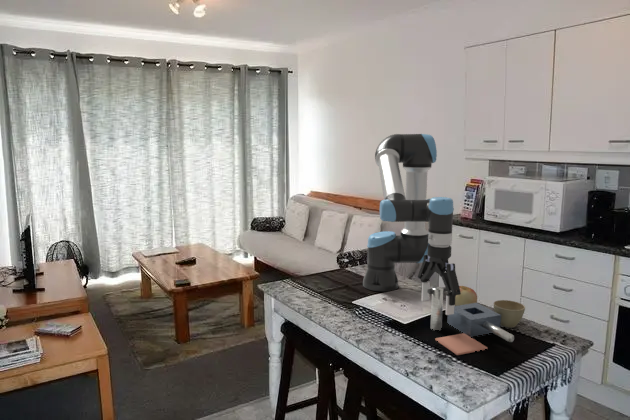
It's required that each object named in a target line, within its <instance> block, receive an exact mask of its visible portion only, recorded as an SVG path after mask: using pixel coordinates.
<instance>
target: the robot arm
mask: <svg viewBox="0 0 630 420" xmlns="http://www.w3.org/2000/svg"><path fill="white" fill-rule="evenodd" d="M437 153H438V151H437V144H436V141H435V138H434V137H433V135H432V134H428V133H427V134H426V133H406V134H405V133H395V134H391V135H388V136H386V137H385V138H384V139H382V140H381V142H379V144H378V146H377V147H376V149H375V152H374V160H375V164H376V166H377V167H378V170H379V175H380V181H381V188H382V196H383V199H382V200H381V201H379V218H380V221H382V222H391V223H395V222H396V223H397V222H400V223H401V222H403V223H404V224H403V225H404V227H403V228H401V230H400V235H397V234H396V232H395V231H391V230H390V231H388V230H386V231H385V230H384V231H379V232H374V233H371V234H370V235H369V236H368V238H367V245H366V246H367V266H366V267H367V268H366V270H365V274H364V276H363V280H362V287H363V288H365V289H367V290H369V291H374V292H391V290H392V291H395V290H397V289H398V288H399V279H398V277H397V273H396V269H395V266H396V265H395V264H396V263H397V264H398V263H399V264H421V266H420V269H419V272H418V275H417V279H420V282H421V297H420V298H421V302H427V301H430V294H429V293H428V289H431V282H430V280H431V278H432V276H433V275H434V273H437V274H438V276H439V277H441V280H442V282H443V284H444V287H446V290H447V292H446V293H447V294H446V295H445V313H444V314H445V315H446V316H448V315H451V314H454V306H455V297H456V295H460V294H461V292H460V288H459V286H460V285H459V281H458V276H457V273H456V272H457V271H456V263H449V259H450V258H451V257H452V244H453V222H454V221H453V220H454V210H455V209H454V200H453V198H451V197H446V196H445V197H444V196H434V197H431V198H427V190H428V188H427V187H428V172H429V170H431V168H432V166H433V164H435V163H436V162H437V157H438V154H437ZM399 163H400V164H402V168H403V170H405V172H406V175H405V189H404V184H403V179H402V174H401V169H400V165H399ZM426 222H427V223H428V230H427V229H426Z"/></svg>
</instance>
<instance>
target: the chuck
mask: <svg viewBox="0 0 630 420" xmlns="http://www.w3.org/2000/svg"><path fill="white" fill-rule="evenodd" d="M446 320H447V322H446V323H448V324H449V325H448V324H447V325H448V326H450V325H451V326H450V327H452V326H453V327H454V329H455V328H456V329H455V330H457V329H458V330H459V331H458V330H457V331H458V332H460V331H461V332H460V333H462V332H463V333H465V334H466V335H468V336H469V337H472V338H474V337H473V336H477V337H479V336H478V335H482V336H484V335H483V334H488V335H490V334H489V333H493V334H494V335H496V336H498V337H500V338H501V339H503V340H505V341H507V342H509V343H513V342H514V340H515V335H513V334H512V333H509V332H508V331H506V330H504V329H503V328H501V326H502V325H501V315H500V314H498V313H496V312H495V311H494V310H492V309H490V308H488V307H486V306H484V305H482V304H480V303H478V302H477V303H472V304H465V305H458V306H455V305H454V314H451V315H447V319H446ZM453 327H452V328H453Z"/></svg>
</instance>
